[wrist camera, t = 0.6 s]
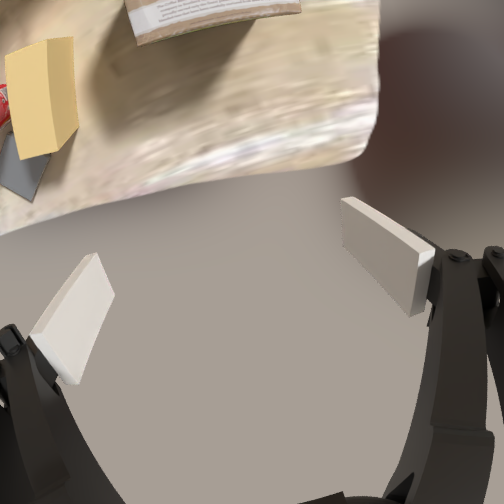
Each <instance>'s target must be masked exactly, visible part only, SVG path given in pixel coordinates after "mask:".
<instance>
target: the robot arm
mask: <svg viewBox="0 0 504 504" xmlns="http://www.w3.org/2000/svg"><path fill="white" fill-rule="evenodd" d="M340 200H341V217H342V239H343V247H344V248H345V249H346V250H347V251H348V252H349V253H350V254H351V255H352V256H353V257H354V258H355V259H356V260H357V261H358V262H359V263H360V264H361V265H362V266H363V267H364V268H365V270H366V271H367V272H368V273H369V274H370V275H371V276H372V277H373V278H374V279H375V280H376V281H377V282H378V283H379V284H380V286H381V287H382V288H383V289H384V290H385V291H386V292H387V293H388V294H389V295H390V296H391V298H392V299H393V300H394V301H395V302H396V303H397V304H398V305H399V306H400V308H401V309H402V310H403V311H404V312H405V313H406V314H407V315H408V317H411V316H414V315H416V314H419V313H421V312H424V309H425V304H426V300H427V299H428V300H429V301H430V302H431V303H432V308H431V312H430V316H429V320H428V323H427V326H428V327H429V334H428V342H427V349H426V357H425V362H424V368H423V374H422V380H421V385H420V390H419V394H418V399H417V403H416V407H415V412H414V415H413V419H412V423H411V427H410V430H409V433H408V437H407V440H406V443H405V446H404V450H403V452H402V455H401V458H400V461H399V464H398V466H397V468H396V470H395V472H394V474H393V476H392V478H391V479H390V481H389V483H388V486H387V488H386V490H385V492H384V494H383V497H382V498H378V497H368V496H356V497H355V496H353V497H344V494H343V491H342V492H339V493H336V494H333V495H329V496H326V497H323V498H319V499H315V500H311V501H307V502H304V503H299V504H483V502H484V498H485V494H486V490H487V486H488V481H489V477H490V471H491V465H492V460H493V453H494V442H495V441H494V439H495V437H494V435H493V433H492V432H491V431H487V430H486V424H485V423H486V409H487V355H488V358H489V361H490V365H491V368H492V372H493V376H494V379H495V384H496V387H497V392H498V396H499V401H500V406H501V411H502V416H503V423H504V249H503V248H502V247H498V246H488V247H486V248H485V250H484V254H483V258H482V259H472V257H471V256H470V255H469V254H468V253H466V252H464V251H461V250H457V249H449V250H446V251H444V250H443V249H442V248H440V247H439V246H437V245H436V244H434V243H433V242H431V241H430V240H428V239H427V238H425V237H422V235H421V234H419V233H418V232H416V231H414V230H411V229H408V228H404V227H403V226H401V225H399V224H398V223H396V222H395V221H393V220H392V219H390V218H388V217H387V216H385V215H383V214H382V213H380V212H379V211H377V210H375V209H374V208H372V207H370V206H369V205H367V204H365V203H363V202H362V201H360V200H358V199H356V198H355V197H348V198H343V199H340ZM114 297H115V294H114V291H113V289H112V287H111V285H110V283H109V280H108V278H107V276H106V273H105V271H104V269H103V266H102V264H101V261H100V259H99V257H98V254H97V253H93V254H90V255H86V256H85V257H84V258H83V259H82V261H81V262H80V263H79V264H78V266H77V267H76V268H75V270H74V271H73V272H72V273H71V275H70V276H69V278H68V279H67V280H66V281H65V283H64V284H63V285H62V287H61V288H60V289H59V291H58V292H57V294H56V295H55V296H54V298H53V299H52V301H51V302H50V303H49V305H48V306H47V308H46V309H45V311H44V312H43V314H42V315H41V317H40V318H39V320H38V321H37V323H36V324H35V326H34V327H33V329H32V331H31V332H30V334H29V336H28V338H27V340H26V341H25V340H24V338H23V337H22V335H21V334H20V332H19V331H18V329H17V327H16V326H15V324H9V325H7V326H5V327H4V328H2V329H1V330H0V352H1V354H2V355H3V356H4V358H5V359H3V360H0V399H1V400H2V402H3V403H4V408H3V407H2V406H1V405H0V504H125V502H124V501H123V499H122V498H121V497H120V495H119V494H118V493H117V491H116V490H115V489H114V487H113V486H112V484H111V483H110V481H109V480H108V478H107V477H106V475H105V473H104V472H103V471H102V469H101V467H100V466H99V464H98V462H97V461H96V459H95V457H94V456H93V454H92V452H91V451H90V449H89V447H88V445H87V443H86V441H85V440H84V438H83V436H82V434H81V432H80V430H79V428H78V426H77V424H76V422H75V420H74V418H73V416H72V414H71V411H70V409H69V407H68V405H67V403H66V400H65V398H64V396H63V393H62V391H61V388H60V387H59V385H58V384H57V383H56V382H55V380H56V378H57V376H59V377H60V378H61V379H62V381H63V382H64V383H65V384H66V385H75V384H76V385H78V384H79V383H80V380H81V377H82V374H83V372H84V369H85V366H86V364H87V361H88V358H89V356H90V353H91V351H92V348H93V345H94V343H95V340H96V338H97V336H98V333H99V331H100V328H101V326H102V323H103V321H104V319H105V317H106V315H107V312H108V310H109V308H110V306H111V303H112V301H113V299H114ZM499 299H500V303H499Z"/></svg>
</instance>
